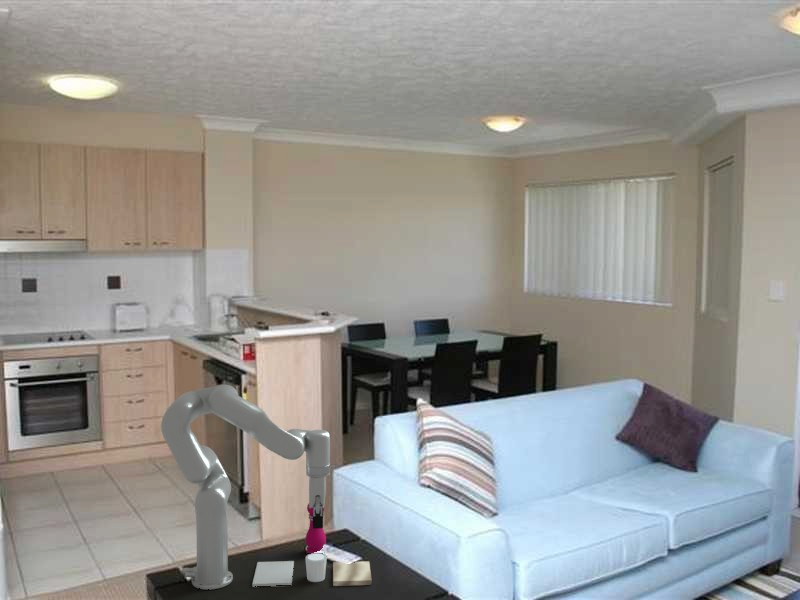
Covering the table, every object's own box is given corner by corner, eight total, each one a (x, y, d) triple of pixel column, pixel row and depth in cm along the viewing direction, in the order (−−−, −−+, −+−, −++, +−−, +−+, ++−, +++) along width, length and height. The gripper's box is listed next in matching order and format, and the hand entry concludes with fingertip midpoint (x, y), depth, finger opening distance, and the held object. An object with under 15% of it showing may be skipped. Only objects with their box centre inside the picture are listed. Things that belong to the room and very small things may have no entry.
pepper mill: (330, 551, 253) (330, 495, 251) (317, 558, 246) (317, 500, 245) (314, 546, 256) (314, 491, 255) (300, 553, 250) (301, 496, 249)
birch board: (333, 586, 226) (333, 581, 226) (333, 566, 240) (333, 562, 240) (371, 584, 227) (371, 580, 227) (369, 565, 241) (369, 561, 241)
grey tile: (252, 587, 225) (252, 583, 225) (257, 564, 241) (257, 562, 241) (291, 585, 226) (291, 582, 226) (294, 563, 242) (294, 561, 242)
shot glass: (323, 583, 228) (323, 562, 227) (302, 581, 229) (302, 560, 228) (329, 574, 234) (329, 553, 234) (309, 572, 236) (309, 551, 235)
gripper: (307, 462, 238) (307, 513, 239) (305, 478, 220) (305, 533, 222) (329, 461, 238) (330, 512, 239) (329, 477, 221) (330, 532, 222)
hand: (318, 522), depth 230 cm, fingers open, 9 cm apart
